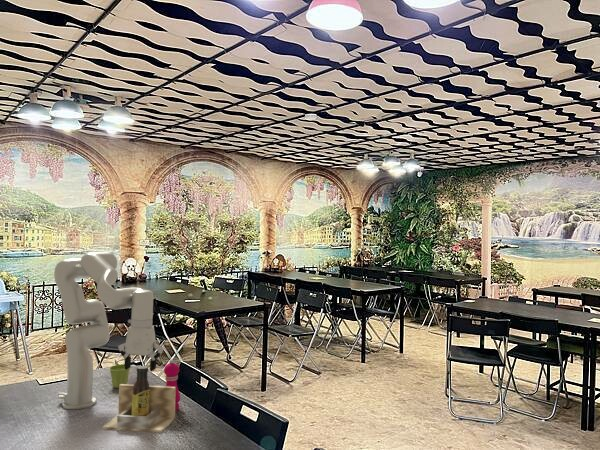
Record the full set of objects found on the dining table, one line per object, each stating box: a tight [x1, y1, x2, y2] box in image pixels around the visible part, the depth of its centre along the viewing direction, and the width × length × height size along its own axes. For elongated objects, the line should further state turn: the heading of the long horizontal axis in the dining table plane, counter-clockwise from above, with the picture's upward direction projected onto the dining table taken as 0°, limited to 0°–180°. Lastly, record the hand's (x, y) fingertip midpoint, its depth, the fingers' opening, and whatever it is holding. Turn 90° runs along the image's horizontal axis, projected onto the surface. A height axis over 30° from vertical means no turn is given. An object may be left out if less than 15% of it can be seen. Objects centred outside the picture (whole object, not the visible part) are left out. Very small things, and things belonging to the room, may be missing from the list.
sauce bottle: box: [131, 365, 150, 416], centre depth 173 cm, size 6×6×20 cm
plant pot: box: [108, 363, 132, 389], centre depth 215 cm, size 9×9×9 cm
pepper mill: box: [163, 359, 181, 412], centre depth 188 cm, size 7×7×20 cm
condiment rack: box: [102, 383, 176, 434], centre depth 173 cm, size 22×13×12 cm, turn 84°
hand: (140, 369), depth 174 cm, fingers open, 9 cm apart
